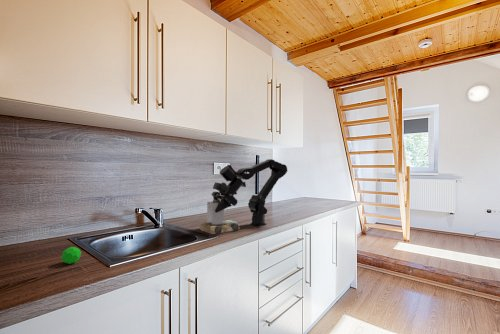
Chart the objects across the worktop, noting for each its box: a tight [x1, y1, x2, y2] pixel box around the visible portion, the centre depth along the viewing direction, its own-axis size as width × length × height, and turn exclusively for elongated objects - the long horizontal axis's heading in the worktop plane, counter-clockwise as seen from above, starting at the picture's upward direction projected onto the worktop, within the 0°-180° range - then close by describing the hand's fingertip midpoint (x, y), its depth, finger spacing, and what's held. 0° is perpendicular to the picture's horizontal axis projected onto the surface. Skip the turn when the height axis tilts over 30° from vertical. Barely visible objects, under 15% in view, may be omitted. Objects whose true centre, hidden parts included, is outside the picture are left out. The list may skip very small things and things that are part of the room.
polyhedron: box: [61, 246, 82, 265], centre depth 78 cm, size 5×5×5 cm
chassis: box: [199, 219, 241, 235], centre depth 124 cm, size 16×13×3 cm
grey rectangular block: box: [206, 199, 225, 226], centre depth 122 cm, size 6×6×12 cm
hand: (212, 211), depth 121 cm, fingers closed on grey rectangular block, 6 cm apart
